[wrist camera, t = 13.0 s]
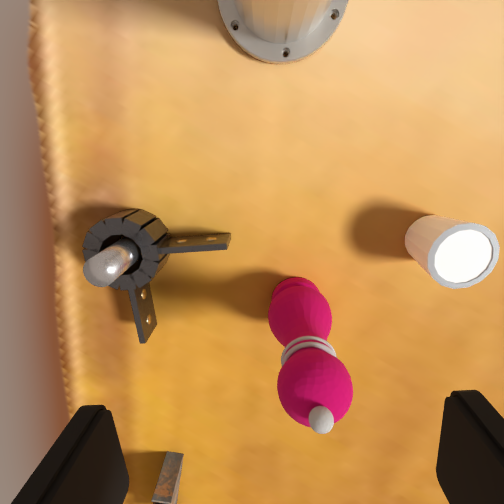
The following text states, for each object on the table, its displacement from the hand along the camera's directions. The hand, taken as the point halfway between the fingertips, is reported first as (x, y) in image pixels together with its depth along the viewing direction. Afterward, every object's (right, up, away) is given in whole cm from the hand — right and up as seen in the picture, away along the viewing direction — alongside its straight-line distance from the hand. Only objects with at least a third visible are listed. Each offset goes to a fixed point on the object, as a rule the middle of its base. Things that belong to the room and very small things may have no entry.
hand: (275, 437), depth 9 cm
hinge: (-11, +3, +31) cm, 33 cm away
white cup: (+20, +7, +29) cm, 36 cm away
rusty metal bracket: (-14, -31, +43) cm, 55 cm away
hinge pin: (-15, +6, +30) cm, 34 cm away
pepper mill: (+5, -1, +32) cm, 33 cm away
